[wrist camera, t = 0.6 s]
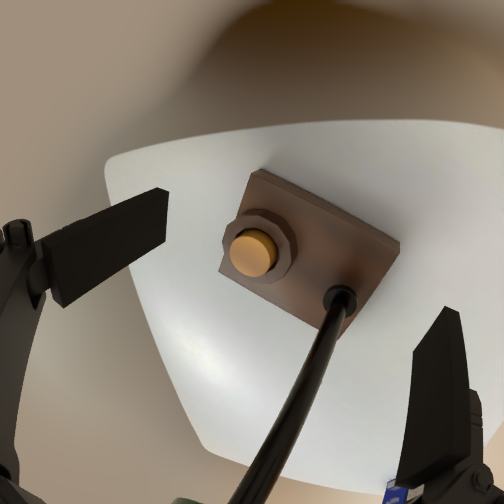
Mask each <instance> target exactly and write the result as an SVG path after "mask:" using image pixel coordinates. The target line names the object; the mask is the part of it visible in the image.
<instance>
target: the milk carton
mask: <svg viewBox="0 0 504 504" xmlns="http://www.w3.org/2000/svg"><path fill="white" fill-rule="evenodd" d="M395 480H396V479H394V480H392V481H390V482H388V484H387V488H386V492H385V495H384V499H383V503H382V504H403V503H404V502H406V501H407V500H409V499H412V498H414V497H416V496H418V495H420V494H422V493H423V488H424V484H423V485H421V486H419V487H417V488H416V489H414V490H411V489H406V488H402V487H398V486H394V484H395Z"/></svg>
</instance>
